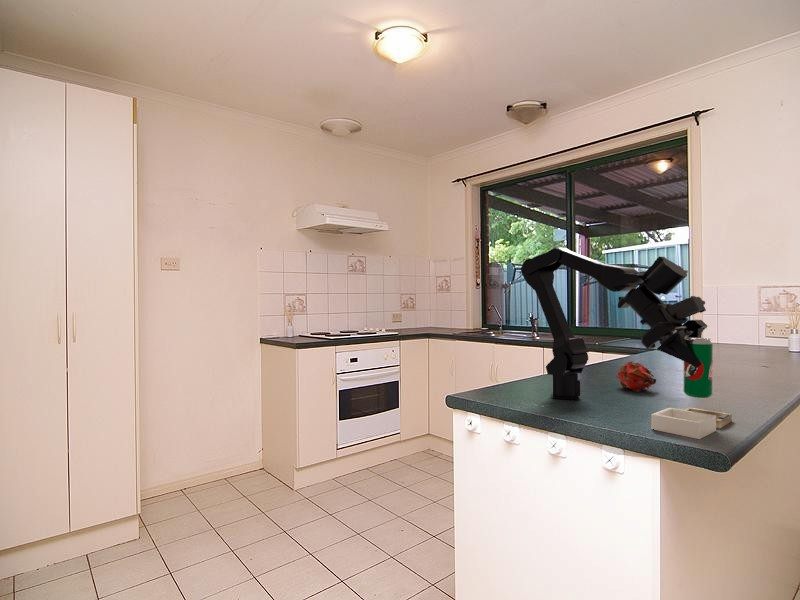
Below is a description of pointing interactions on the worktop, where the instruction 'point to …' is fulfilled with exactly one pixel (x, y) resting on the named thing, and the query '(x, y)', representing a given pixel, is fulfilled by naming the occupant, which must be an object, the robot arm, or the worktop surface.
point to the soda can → (699, 369)
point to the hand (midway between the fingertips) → (705, 364)
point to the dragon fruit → (635, 376)
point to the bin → (683, 422)
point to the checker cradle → (721, 417)
